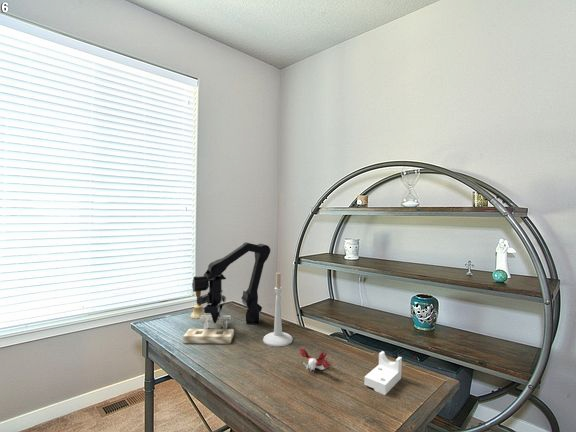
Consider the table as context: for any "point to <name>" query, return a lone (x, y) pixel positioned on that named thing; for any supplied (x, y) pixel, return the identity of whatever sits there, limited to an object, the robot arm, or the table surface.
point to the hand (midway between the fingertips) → (215, 321)
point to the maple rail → (209, 336)
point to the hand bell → (197, 309)
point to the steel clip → (220, 317)
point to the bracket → (384, 374)
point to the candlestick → (278, 322)
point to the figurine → (315, 360)
